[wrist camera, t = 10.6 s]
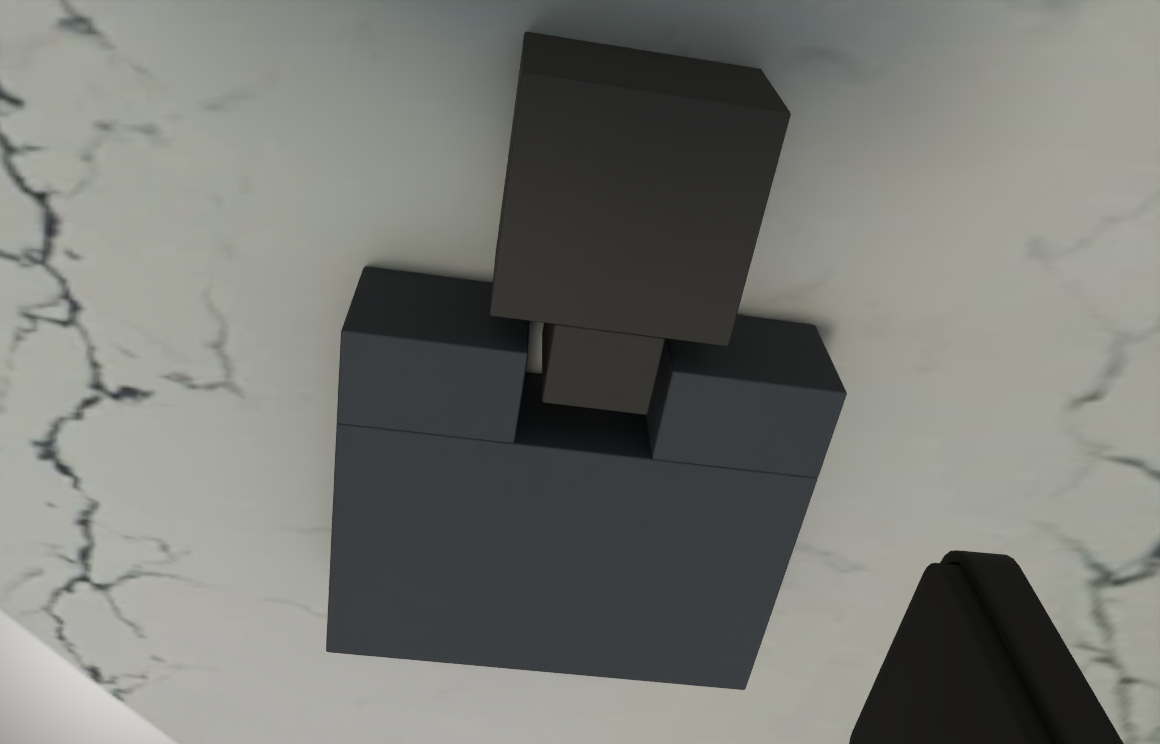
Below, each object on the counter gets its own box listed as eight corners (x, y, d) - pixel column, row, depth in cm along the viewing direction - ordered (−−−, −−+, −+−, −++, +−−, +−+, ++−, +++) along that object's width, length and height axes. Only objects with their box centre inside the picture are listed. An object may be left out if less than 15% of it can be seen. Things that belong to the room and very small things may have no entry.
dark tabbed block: (524, 31, 27) (521, 71, 24) (761, 68, 28) (791, 112, 25) (486, 326, 32) (478, 395, 29) (691, 352, 33) (707, 423, 29)
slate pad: (363, 265, 31) (340, 330, 27) (815, 324, 32) (847, 393, 29) (345, 568, 37) (325, 652, 33) (727, 606, 38) (745, 690, 35)
